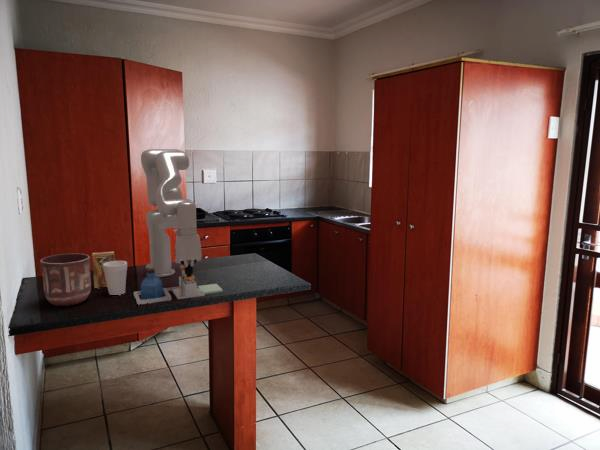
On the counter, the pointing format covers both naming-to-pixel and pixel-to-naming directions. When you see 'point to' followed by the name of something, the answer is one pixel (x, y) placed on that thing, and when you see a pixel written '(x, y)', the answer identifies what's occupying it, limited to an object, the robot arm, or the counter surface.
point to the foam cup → (115, 276)
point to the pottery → (66, 278)
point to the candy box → (100, 267)
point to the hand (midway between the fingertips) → (188, 275)
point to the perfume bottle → (151, 286)
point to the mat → (209, 288)
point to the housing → (179, 292)
